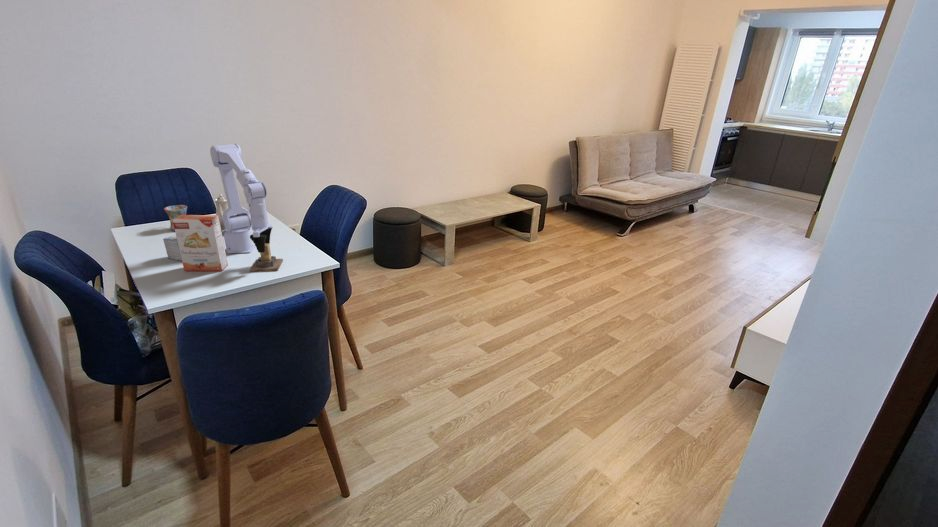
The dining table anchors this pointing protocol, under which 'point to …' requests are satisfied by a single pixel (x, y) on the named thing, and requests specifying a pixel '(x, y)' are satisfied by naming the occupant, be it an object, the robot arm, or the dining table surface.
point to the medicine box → (172, 248)
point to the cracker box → (200, 242)
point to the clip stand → (266, 265)
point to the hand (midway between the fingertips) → (264, 248)
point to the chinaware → (222, 209)
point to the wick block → (266, 253)
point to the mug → (175, 213)
